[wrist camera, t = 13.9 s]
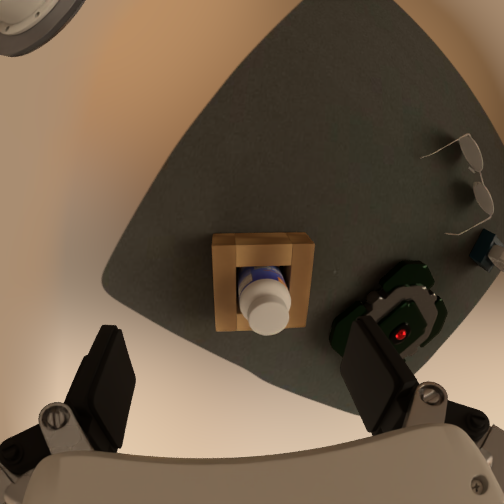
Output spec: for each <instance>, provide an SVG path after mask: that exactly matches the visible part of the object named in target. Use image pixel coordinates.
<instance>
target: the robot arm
mask: <svg viewBox="0 0 504 504" xmlns="http://www.w3.org/2000/svg"><path fill="white" fill-rule="evenodd" d="M58 1H59V0H0V32H1V33H3V34H6V35H17V34H21V33H23V32H25V31H27V30H28V29H30V28H32V27H33V26H34V25H36V24H37V23H38V22H40V21H41V20H42V19H43V18H44V17H45V16H46V15H47V14H48V13H49V12H50V11H51V10H52V8H53V7H54V6H55V5H56V3H57V2H58ZM340 372H341V375H342V377H343V379H344V381H345V384H346V386H347V388H348V390H349V392H350V394H351V397H352V399H353V401H354V403H355V405H356V407H357V410H358V412H359V414H360V416H361V418H362V420H363V423H364V425H365V427H366V429H367V431H368V432H371V433H372V435H373V436H371V437H367V438H363V439H359V440H355V441H350V442H346V443H342V444H337V445H332V446H327V447H322V448H316V449H310V450H304V451H298V452H291V453H283V454H275V455H265V456H253V457H239V458H209V459H208V458H203V459H202V458H198V459H197V458H167V457H153V456H152V457H151V456H140V455H130V454H121V453H117V449H118V448H121V447H122V444H123V438H124V433H125V428H126V423H127V418H128V414H129V410H130V405H131V400H132V396H133V392H134V388H135V383H136V378H135V374H134V371H133V367H132V364H131V361H130V358H129V354H128V351H127V348H126V345H125V341H124V337H123V334H122V330H121V329H118V328H117V326H116V325H102V326H101V328H100V330H99V332H98V334H97V336H96V338H95V341H94V343H93V345H92V347H91V349H90V351H89V353H88V355H86V356H84V358H83V360H82V362H81V365H80V366H79V368H78V371H77V373H76V375H75V378H74V380H73V382H72V385H71V387H70V389H69V392H68V394H67V396H66V399H65V402H64V403H61V402H54V403H50V404H48V405H46V406H45V407H44V408H43V409H42V410H41V412H40V414H39V418H38V419H39V424H37V425H35V426H33V427H31V428H29V429H27V430H25V431H23V432H21V433H19V434H17V435H15V436H13V437H10V438H8V439H6V440H5V441H3V442H2V444H1V445H0V504H504V431H503V430H502V429H500V428H499V427H497V426H495V425H493V426H492V427H491V426H490V424H489V419H488V417H487V416H486V415H485V414H484V413H483V412H482V411H480V410H477V409H474V408H470V407H467V406H464V405H461V404H458V403H455V402H452V401H449V400H448V399H447V398H448V396H447V393H446V390H445V389H444V388H443V387H442V386H440V385H439V384H437V383H435V382H423V383H421V384H419V383H418V381H417V379H416V378H415V376H414V375H413V373H412V372H411V370H410V369H409V367H408V366H407V365H406V363H405V362H404V360H403V359H402V357H401V356H400V355H399V353H398V352H397V350H396V349H395V348H394V346H393V345H392V343H391V342H390V341H389V339H388V338H387V336H386V335H385V334H384V332H383V331H382V330H381V328H380V327H379V325H378V324H377V323H376V321H375V320H374V319H373V317H372V316H370V315H368V316H359V317H357V318H356V320H354V321H353V322H352V326H351V330H350V333H349V337H348V341H347V345H346V349H345V352H344V356H343V359H342V363H341V367H340Z"/></svg>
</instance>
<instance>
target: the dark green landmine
mask: <svg viewBox="0 0 504 504" xmlns="http://www.w3.org/2000/svg"><path fill="white" fill-rule="evenodd" d="M434 282H435V281H434V279H433V277H432V275H431V273H430V271H429V269H428V267H427V265H425V264H424V263H423V262H421V261H401V262H399V263H398V264H397V265H396V266H395V267H394V268H393V269H391V270H390V271H389V272H388V273H387V274H386V275H385V276H384V277H383V278H381V279H380V281H379V284H380V286H381V287H382V289H381V290H380V291H379V292H377V291H374V290H373V291H372V292H371V293H370V294H368V295H367V302H366V303H365V304H364V305H362V303H361V302H360V301H355V302H354V303H353V304H352V305H351V306H349V307H348V308H347V309H346V310H345V311H343V312H342V313H341V314H340V315H338V316H337V317H336V318H335V319H334V321H333V323H332V328H331V332H330V336H329V342H330V344H331V346H332V348H333V349H334V350H335V351H336V352H337V353H339V354H340V355H341V356H342V357H343V356H344V352H345V349H346V345H347V341H348V337H349V333H350V330H351V326H352V322H353V321H354V320H356V318H357V317H359V316H368V315H370V316H372V317H373V319H374V320H375V321H376V323H377V324H378V325H379V327H380V328H381V330H382V331H383V332H384V334H385V335H386V336H387V338H388V339H389V341H390V342H391V343H392V345H393V346H394V348H395V349H396V350H397V352H398V353H399V355H400V356H401V357H402V359H403V360H404V362H405V361H406V360H405V359H404V358H405V357H406V356H407V355H409V356H412V355H413V354H415V353H416V352H417V347H418V346H419V345H420V347H424V346H425V345H426V344H427V343H429V342H430V341H431V340H432V339H433V338H434V337H435V336H436V335H437V334H438V333H439V332H440V331H441V329H442V327H443V324H444V322H445V319H446V317H447V309H446V307H445V305H444V303H443V300H442V299H441V298H440V297H439V296H436V295H435V293H433V292H432V291H431V290H430V288H431V287H432V286H433V285H434Z"/></svg>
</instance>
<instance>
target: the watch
mask: <svg viewBox="0 0 504 504" xmlns="http://www.w3.org/2000/svg"><path fill="white" fill-rule="evenodd" d="M503 247H504V245H503V244H502V242H501V241H500V240H499V238H498V237H497V236H496V235H495V234H493V233H491V232H489V231H487V230H486V229H483V231H482V233H481V235H480V236H479V238H478V240H477V242H476V244H475V246H474V248H473V250H472V251H471V253H470V255H469V256H470V257H471V258H472V259H473V260H474V261H475V262H476V263H477V264H478V265H479V266H480V267H482V268H483V269H485V270H486V271H488V272H489V273H490V271H491V269H492V268H493V266H494V264H495V265H496V266H497V267H498V268H500V270H501V271H503V272H504V268H503V267H504V248H503Z"/></svg>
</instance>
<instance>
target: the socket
mask: <svg viewBox="0 0 504 504" xmlns="http://www.w3.org/2000/svg"><path fill="white" fill-rule="evenodd" d="M314 247H315V244H314V242H313V241H312V240H311V239H310V237H309V236H308V235H307V234H306V233H305V232H294V233H235V234H234V233H221V234H213V238H212V265H213V287H214V305H215V322H216V331H244V330H252V329H251V327H250V325H249V322H248V320H247V319H246V318H245V317H244V316H243V314H242V312H241V309H240V303H239V297H236V267H252V266H283V278H284V281H285V283H286V286H287V288H288V291H289V294H290V297H291V306H290V310H289V321H288V324H287V325H286V327H285V328H296V327H305V325H306V318H307V310H308V302H309V294H310V285H311V276H312V267H313V257H314Z"/></svg>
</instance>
